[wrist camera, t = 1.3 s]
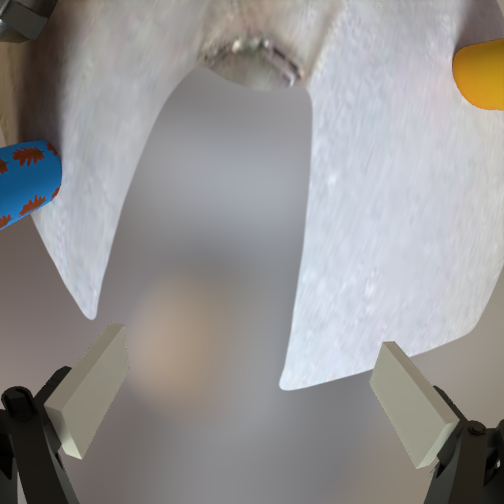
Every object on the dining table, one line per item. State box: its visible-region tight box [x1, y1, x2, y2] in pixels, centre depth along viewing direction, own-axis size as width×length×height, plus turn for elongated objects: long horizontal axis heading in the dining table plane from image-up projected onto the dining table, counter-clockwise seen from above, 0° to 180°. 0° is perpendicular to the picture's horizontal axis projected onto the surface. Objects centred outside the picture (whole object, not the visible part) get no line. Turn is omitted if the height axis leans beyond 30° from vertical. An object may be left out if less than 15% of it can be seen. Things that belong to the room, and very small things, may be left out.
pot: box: [0, 0, 57, 43], centre depth 20 cm, size 14×23×11 cm, turn 49°
